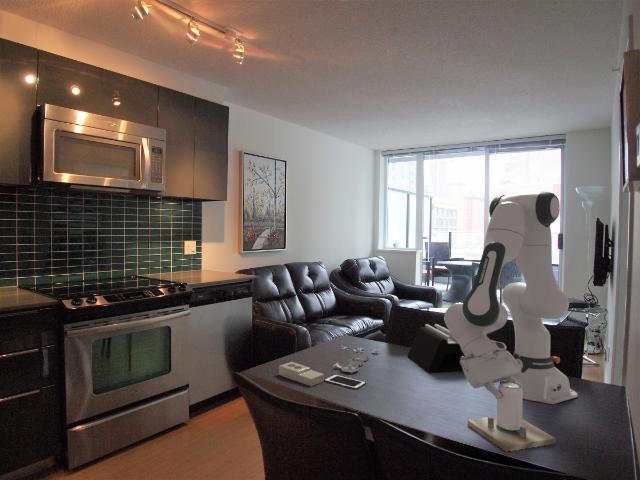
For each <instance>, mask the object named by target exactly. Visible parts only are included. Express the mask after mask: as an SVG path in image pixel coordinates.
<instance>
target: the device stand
mask: <svg viewBox="0 0 640 480" xmlns="http://www.w3.org/2000/svg"><path fill="white" fill-rule="evenodd" d="M462 356H465V355H464V353H463V352H462V350H461V347H460V345H459V343H458V342H457V341H456V340H455V339H454V338H453V336H452V335H451V333H450V331H449V329H448V328H447V327H444V326H442V325H440V324H437V323H435V324H434V326H432V325H430V324H428V323H426V324H424V326H420V327H419V328H418V330H417V332H416V335H415V337H414V340H413V342H412V344H411V347H410V349H409V350H408V353H407V357H408V358H409V359H411V361H413V362H414V363H415V364H417V366H419V367H420V368H422V369H423V370H424V371H425V372H426V373H427V374H440V373H441V374H442V373H459V372H461V373H464V371H463V368H462V365H461V364H460V359H461V357H462Z"/></svg>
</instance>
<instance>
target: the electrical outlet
mask: <svg viewBox="0 0 640 480" xmlns="http://www.w3.org/2000/svg"><path fill="white" fill-rule="evenodd" d="M278 375H279V376H281V377H284V378H286V379H289V380H291V381H295V382H298V383H301V384H304V385H306V386H309V387H313V386H316V385H318V384H321V383H324V382H325V381H324V379H325V374H324V373H323V372H318V371H315V370H313V369H311V367H310V366H306V365H303V364H300V363H297V362H293V361H289V362H286V363H283V364H281V365H280V364H279V366H278Z"/></svg>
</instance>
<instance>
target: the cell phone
mask: <svg viewBox="0 0 640 480" xmlns="http://www.w3.org/2000/svg"><path fill="white" fill-rule="evenodd" d="M324 382H325V383H329V384H332V385H336V386H340V387H344V388H348V389H351V390H354V391H356V390H359V389H361V388H362V387H364V386H365V385H366V386H367V382H366V381H364V380H359V379H355V378H351V377H346V376H344V375H338V374H331V375H330V376H329V377H326V378H324Z"/></svg>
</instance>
